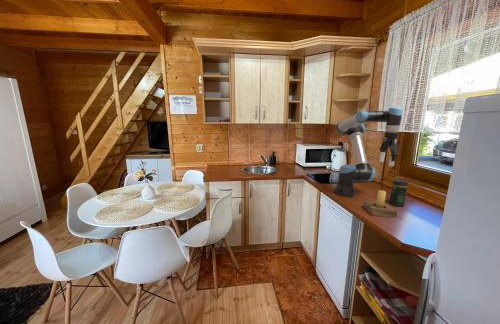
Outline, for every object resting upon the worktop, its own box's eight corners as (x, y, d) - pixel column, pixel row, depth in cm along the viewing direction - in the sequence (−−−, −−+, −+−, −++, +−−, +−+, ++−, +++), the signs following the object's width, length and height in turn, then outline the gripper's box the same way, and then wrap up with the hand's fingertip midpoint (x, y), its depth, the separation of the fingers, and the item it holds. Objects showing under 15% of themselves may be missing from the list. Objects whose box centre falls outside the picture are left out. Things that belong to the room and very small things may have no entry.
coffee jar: (405, 207, 144) (410, 181, 140) (393, 206, 146) (397, 180, 142) (399, 202, 153) (404, 178, 149) (387, 200, 155) (391, 177, 151)
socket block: (363, 206, 144) (364, 201, 143) (384, 208, 142) (385, 202, 141) (372, 215, 130) (373, 209, 130) (396, 217, 129) (397, 211, 128)
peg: (373, 210, 139) (376, 190, 136) (380, 210, 138) (384, 190, 135) (376, 212, 134) (380, 192, 132) (384, 213, 134) (387, 192, 131)
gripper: (377, 130, 148) (372, 159, 152) (395, 133, 124) (389, 167, 128) (388, 130, 146) (383, 160, 151) (409, 133, 122) (402, 168, 127)
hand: (386, 163), depth 140 cm, fingers open, 13 cm apart
